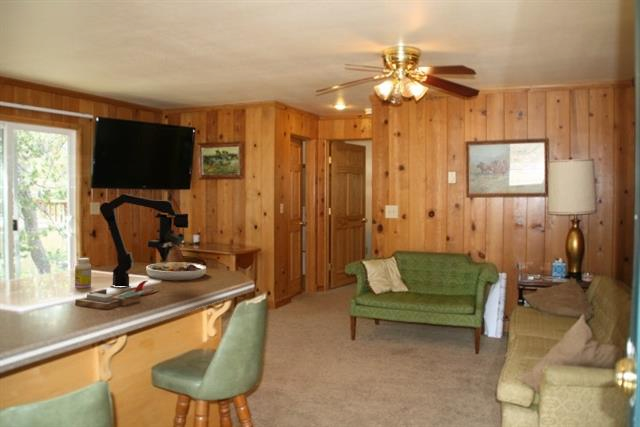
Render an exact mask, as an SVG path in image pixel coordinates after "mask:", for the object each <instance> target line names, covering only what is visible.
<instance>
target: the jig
mask: <svg viewBox="0 0 640 427" xmlns="http://www.w3.org/2000/svg"><path fill="white" fill-rule="evenodd" d="M107 292H108V289H106V288H103V289H102V288H101V289H99V290H95V291H93V290H92V291H89V293H86V297H82V298H76V299H74V300H75V303H74V304H75V306H82V307H89V308H96V309H102V310H103V309H104V310H109V309H112V308H115V307H118V306H122V305H123V306H124V305H125V306H128V305H131V304H135V303H137V302H140V300H141V298H140V296H141V295H140V294H138V293H136V294H133V295H129V296H125V297H124V298H118V297H114V296H113V301H110V302H107V303H104V302H97V301H90V300H87V295H88V294H92V293H99V294H106V295H108V294H107ZM134 302H135V303H134ZM127 304H128V305H127ZM125 306H124V307H125Z"/></svg>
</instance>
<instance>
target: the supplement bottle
mask: <svg viewBox="0 0 640 427" xmlns="http://www.w3.org/2000/svg"><path fill="white" fill-rule="evenodd" d="M89 262H90V258H89V257H79V258H77V264H76V265H75V268H74V287H75V288H78V289H86V288H85V287H88V288H90V287H91V286H92V265H91V263H89Z"/></svg>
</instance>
